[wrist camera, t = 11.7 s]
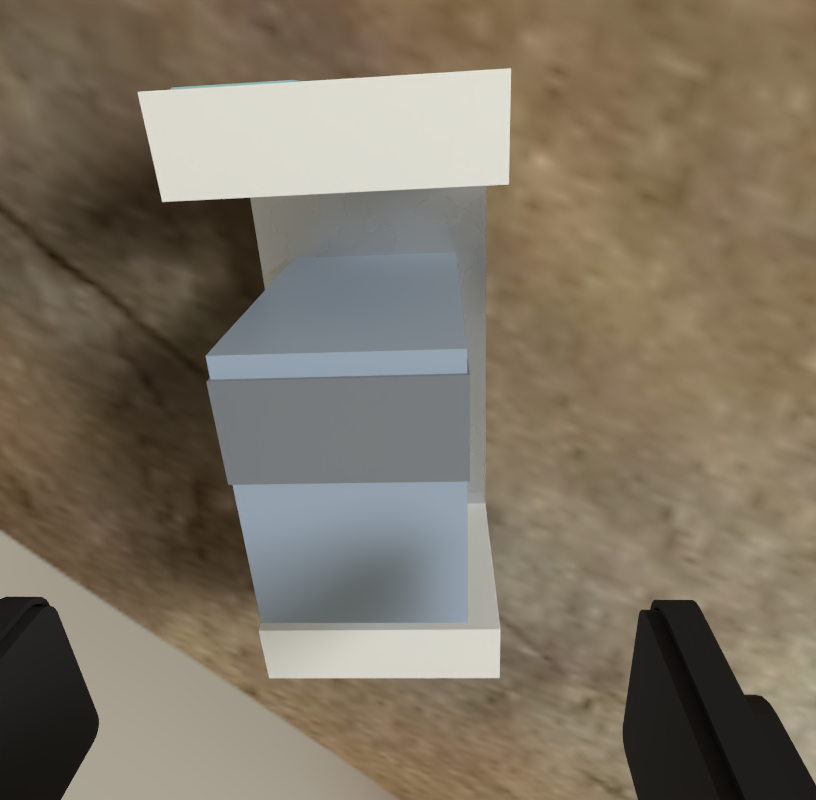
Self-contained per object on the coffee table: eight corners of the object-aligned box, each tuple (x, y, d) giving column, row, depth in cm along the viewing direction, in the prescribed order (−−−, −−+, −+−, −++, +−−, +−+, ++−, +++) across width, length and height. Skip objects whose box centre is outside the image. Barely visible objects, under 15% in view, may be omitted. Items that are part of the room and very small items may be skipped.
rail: (482, 521, 25) (485, 545, 23) (313, 524, 25) (307, 548, 24) (482, 80, 18) (486, 79, 16) (248, 95, 18) (233, 94, 17)
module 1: (486, 160, 17) (508, 187, 12) (245, 172, 18) (162, 204, 12) (486, 76, 16) (511, 64, 11) (232, 92, 17) (137, 88, 11)
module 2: (459, 449, 22) (470, 626, 14) (317, 451, 22) (258, 626, 15) (457, 252, 18) (469, 350, 11) (292, 258, 19) (200, 358, 12)
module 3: (484, 546, 23) (499, 679, 18) (307, 549, 24) (269, 679, 19) (485, 502, 23) (500, 628, 17) (300, 505, 23) (258, 629, 18)
